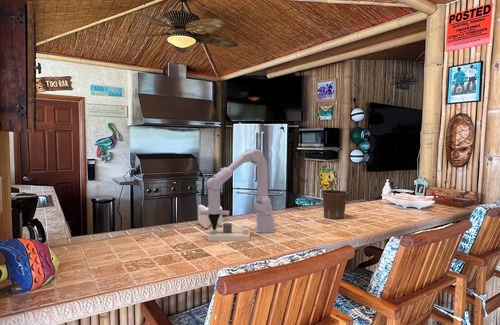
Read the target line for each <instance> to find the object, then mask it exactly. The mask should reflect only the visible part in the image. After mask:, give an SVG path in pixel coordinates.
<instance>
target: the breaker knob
mask: <svg viewBox="0 0 500 325" xmlns="http://www.w3.org/2000/svg"><path fill="white" fill-rule="evenodd" d="M232 224H233V223H229V222H224V223H222V229H223V233H231V232H232V229H233V225H232Z"/></svg>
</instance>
